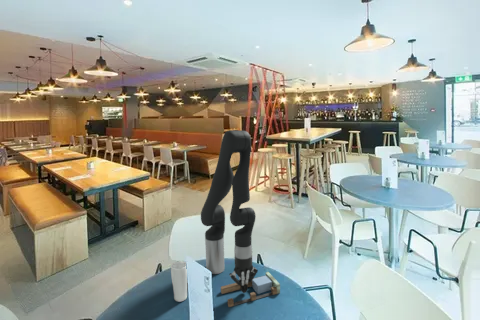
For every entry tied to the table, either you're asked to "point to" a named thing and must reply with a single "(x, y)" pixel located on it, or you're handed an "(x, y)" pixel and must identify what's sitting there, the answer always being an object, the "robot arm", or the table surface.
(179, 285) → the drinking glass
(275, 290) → the lane
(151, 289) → the table surface
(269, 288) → the brick
